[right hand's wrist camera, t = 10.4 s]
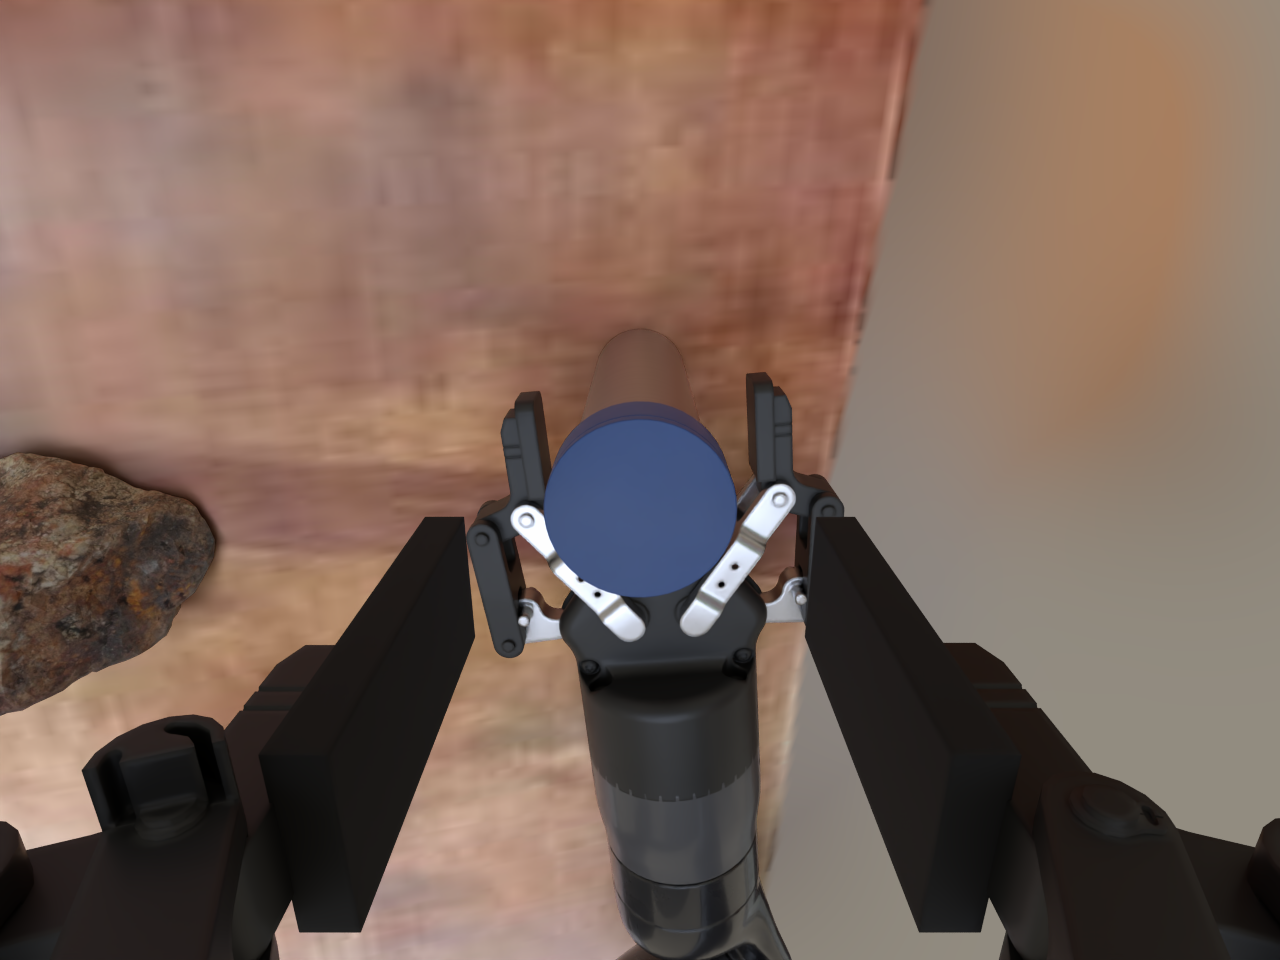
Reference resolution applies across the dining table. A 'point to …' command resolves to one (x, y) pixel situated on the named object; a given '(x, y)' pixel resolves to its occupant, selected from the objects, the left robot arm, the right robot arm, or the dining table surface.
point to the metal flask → (640, 374)
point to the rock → (86, 572)
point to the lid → (640, 500)
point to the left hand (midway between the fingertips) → (641, 386)
